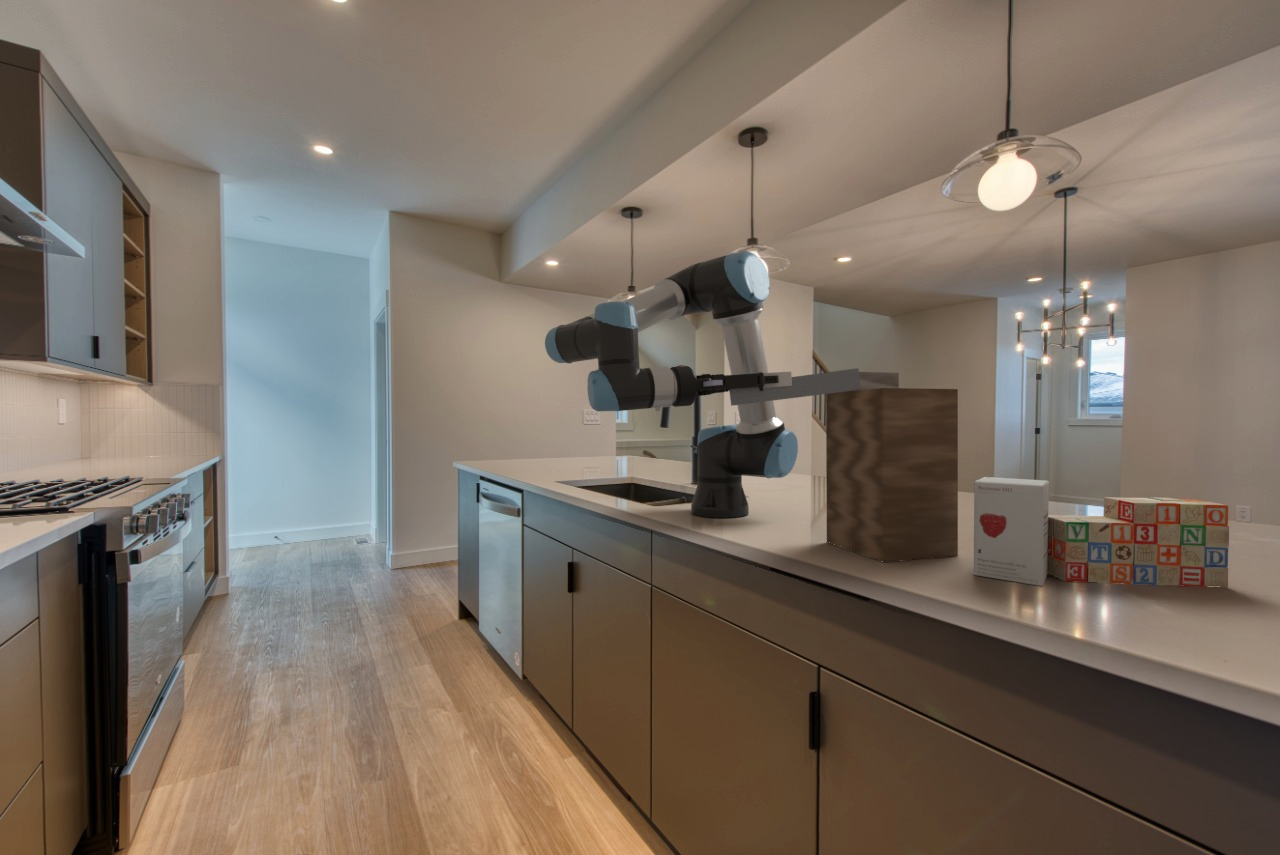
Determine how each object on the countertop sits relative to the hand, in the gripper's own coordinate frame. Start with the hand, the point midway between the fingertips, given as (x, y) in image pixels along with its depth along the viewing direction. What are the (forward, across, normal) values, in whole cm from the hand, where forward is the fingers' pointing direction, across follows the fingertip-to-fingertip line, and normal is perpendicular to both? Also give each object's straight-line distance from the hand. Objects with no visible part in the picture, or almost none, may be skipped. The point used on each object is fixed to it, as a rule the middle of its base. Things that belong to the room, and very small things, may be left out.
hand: (777, 380), depth 106 cm
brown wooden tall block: (+15, +10, -34) cm, 38 cm away
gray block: (+2, +3, -4) cm, 5 cm away
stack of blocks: (+36, +37, -35) cm, 63 cm away
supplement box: (+21, +30, -34) cm, 50 cm away
